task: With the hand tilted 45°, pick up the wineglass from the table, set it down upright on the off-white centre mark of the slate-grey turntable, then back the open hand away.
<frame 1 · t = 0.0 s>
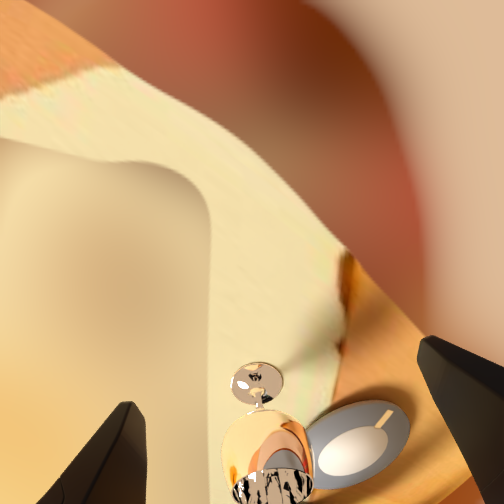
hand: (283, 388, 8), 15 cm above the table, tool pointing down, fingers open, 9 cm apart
turntable: (353, 450, 26), point 1 cm above the table, hinge at 0.0°
wineglass: (256, 383, 25), on the table
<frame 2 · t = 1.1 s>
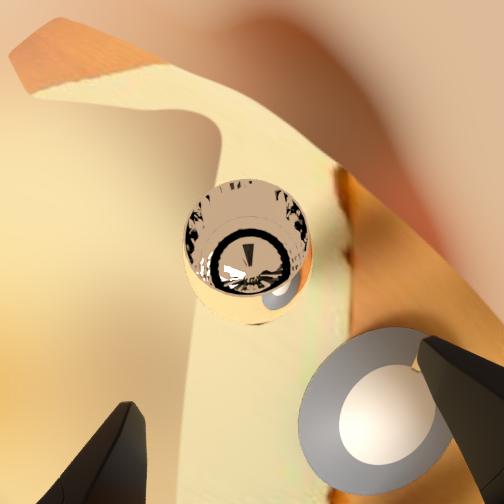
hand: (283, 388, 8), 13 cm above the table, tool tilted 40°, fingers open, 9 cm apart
turntable: (388, 415, 18), point 1 cm above the table, hinge at 0.0°
wineglass: (254, 296, 23), on the table
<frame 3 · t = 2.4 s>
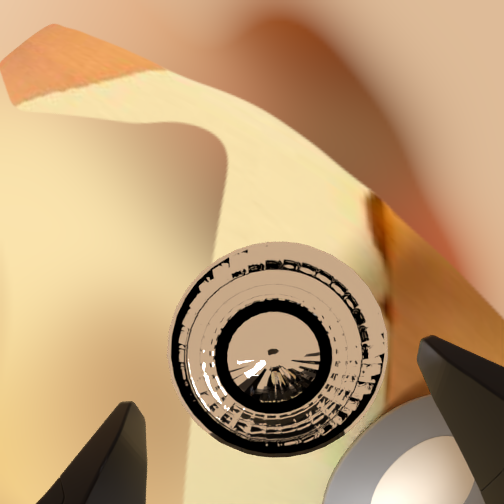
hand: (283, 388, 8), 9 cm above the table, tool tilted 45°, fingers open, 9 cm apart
turntable: (425, 490, 12), point 1 cm above the table, hinge at 0.0°
wineglass: (270, 362, 17), on the table
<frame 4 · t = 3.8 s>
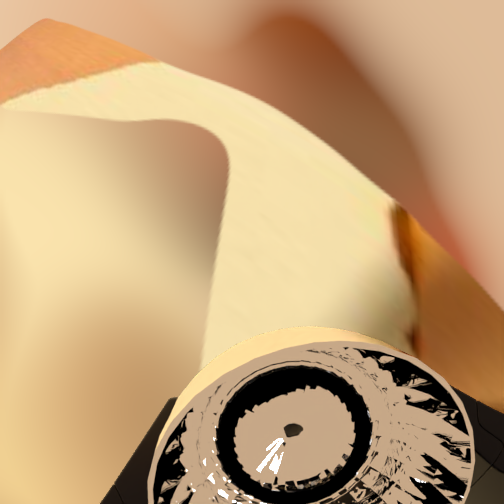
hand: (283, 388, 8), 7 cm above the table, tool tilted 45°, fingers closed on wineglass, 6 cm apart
wineglass: (280, 405, 14), on the table, touching gripper
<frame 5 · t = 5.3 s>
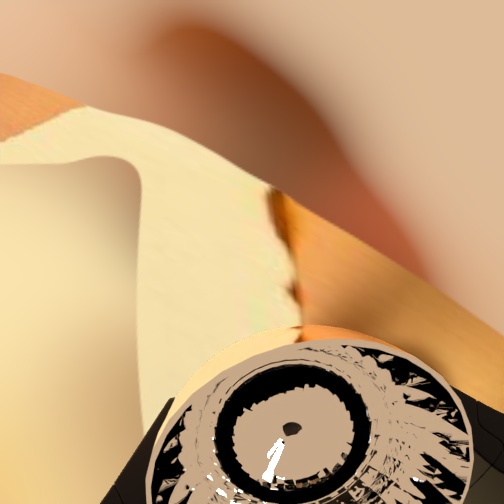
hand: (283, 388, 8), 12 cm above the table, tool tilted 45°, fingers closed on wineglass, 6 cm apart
wineglass: (279, 404, 14), point 5 cm above the table, touching gripper
when the fingers open (9 cm above the table, at t = 6.8 s): wineglass stays where it is, resting on turntable.
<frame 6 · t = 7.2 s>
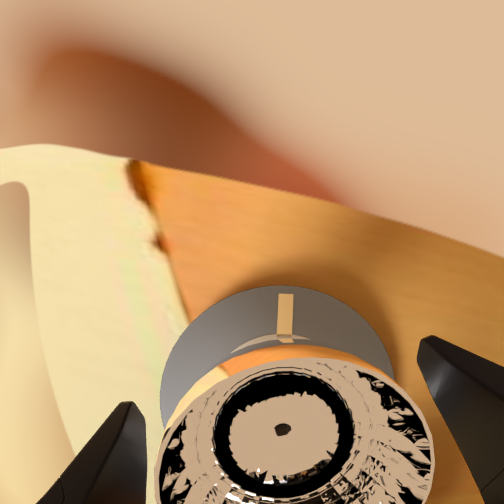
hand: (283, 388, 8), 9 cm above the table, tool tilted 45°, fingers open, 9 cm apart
turntable: (279, 402, 15), point 1 cm above the table, hinge at 0.0°, touching wineglass
wineglass: (275, 406, 15), point 2 cm above the table, touching turntable
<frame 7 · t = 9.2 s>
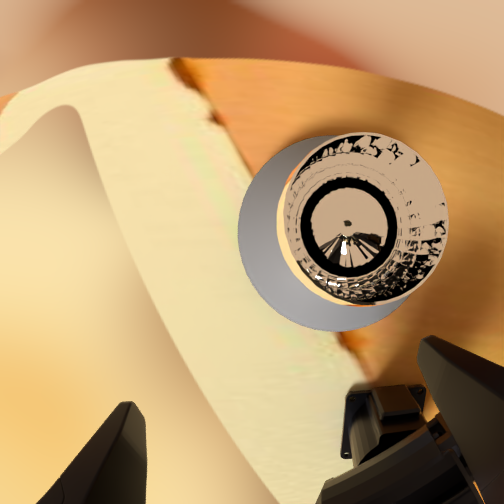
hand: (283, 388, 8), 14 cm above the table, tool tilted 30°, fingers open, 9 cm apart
turntable: (337, 232, 20), point 1 cm above the table, hinge at 0.0°, touching wineglass
wineglass: (333, 234, 20), point 2 cm above the table, touching turntable
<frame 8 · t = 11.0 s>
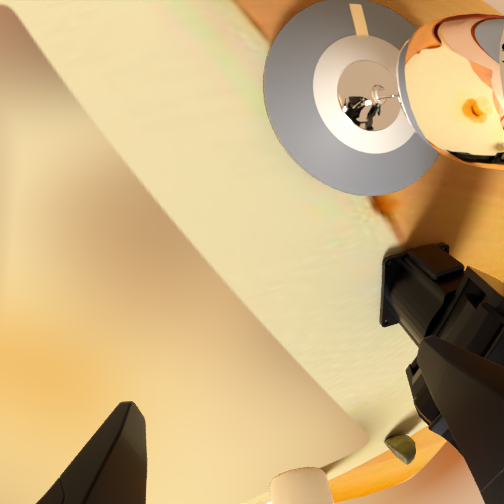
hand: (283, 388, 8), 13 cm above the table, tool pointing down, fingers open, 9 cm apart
lime: (393, 436, 34), on the table
turntable: (370, 93, 16), point 1 cm above the table, hinge at 0.0°, touching wineglass
cup: (285, 481, 36), on the table
wineglass: (368, 95, 16), point 2 cm above the table, touching turntable
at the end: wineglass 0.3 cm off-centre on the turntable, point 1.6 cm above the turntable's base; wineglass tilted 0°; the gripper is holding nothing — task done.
